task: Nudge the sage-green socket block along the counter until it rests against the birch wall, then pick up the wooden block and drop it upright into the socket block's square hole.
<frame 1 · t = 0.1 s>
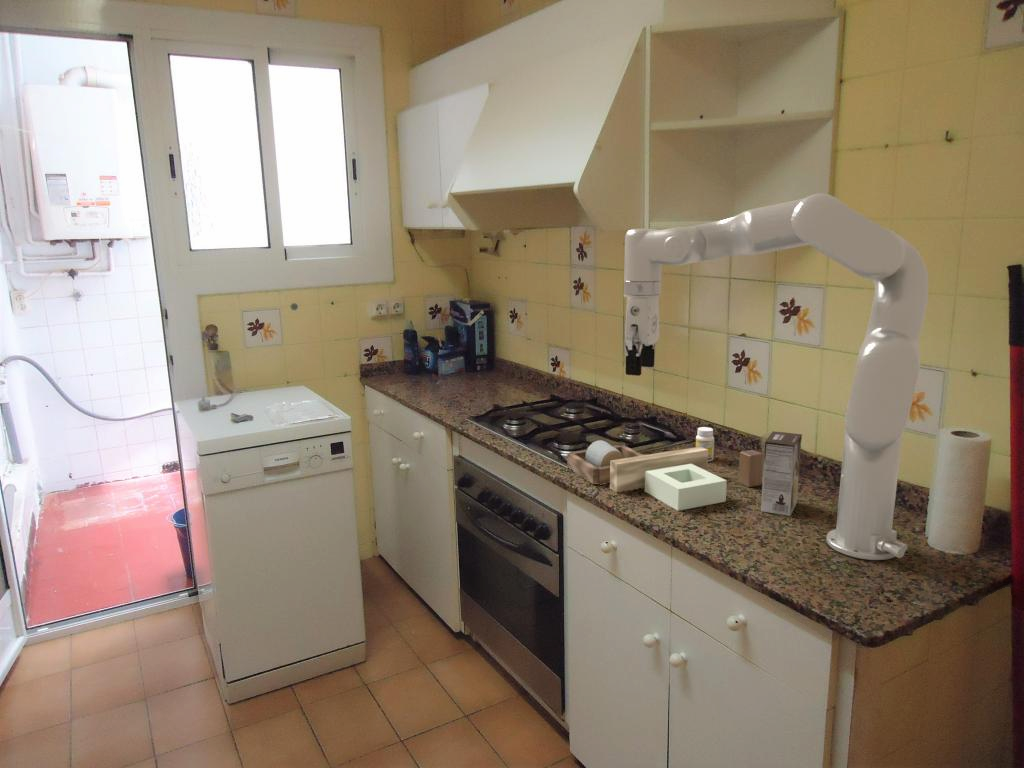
hand: (640, 370, 151), 31 cm above the counter, tool pointing down, fingers open, 9 cm apart
socket block: (684, 496, 164), on the counter
birch wall: (659, 482, 173), on the counter
brown wooden tray: (609, 471, 181), on the counter
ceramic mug: (609, 472, 182), on the counter
coffee box: (779, 507, 157), on the counter
supplement bottle: (704, 459, 190), on the counter
wooden block: (749, 484, 171), on the counter
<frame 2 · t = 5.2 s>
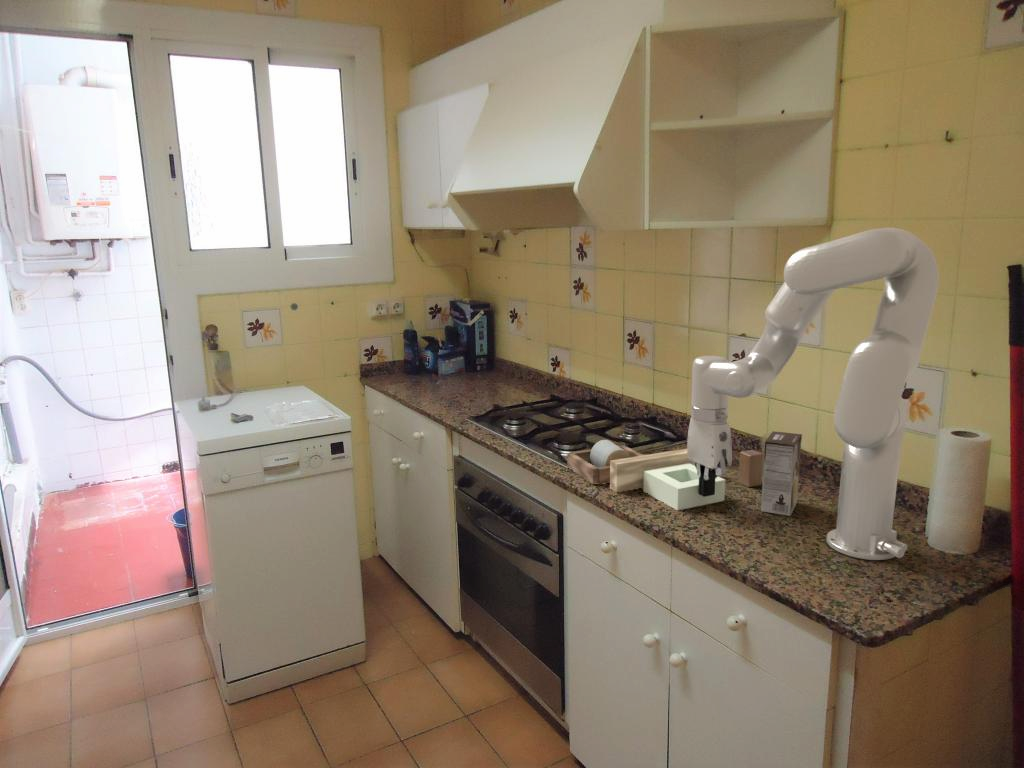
hand: (706, 494, 157), 3 cm above the counter, tool pointing down, fingers closed
socket block: (683, 495, 165), on the counter, touching gripper
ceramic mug: (614, 472, 182), on the counter
everything else where it was.
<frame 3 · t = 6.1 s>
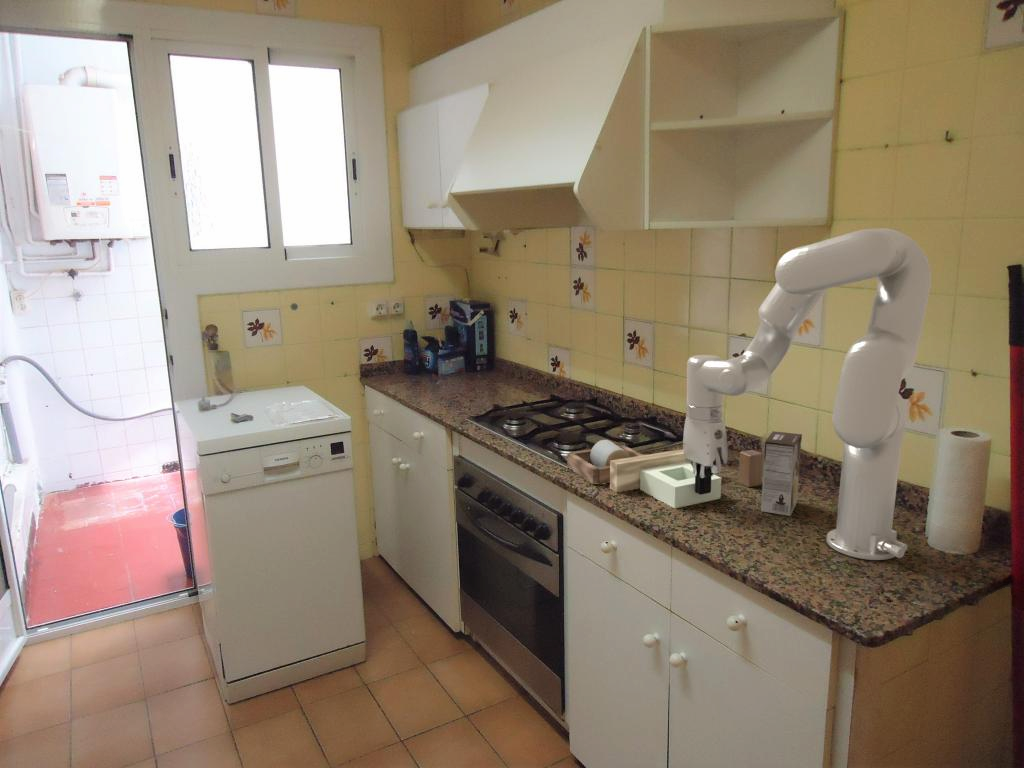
hand: (702, 492, 158), 3 cm above the counter, tool pointing down, fingers closed
socket block: (679, 494, 166), on the counter, touching birch wall, gripper
everything else where it was.
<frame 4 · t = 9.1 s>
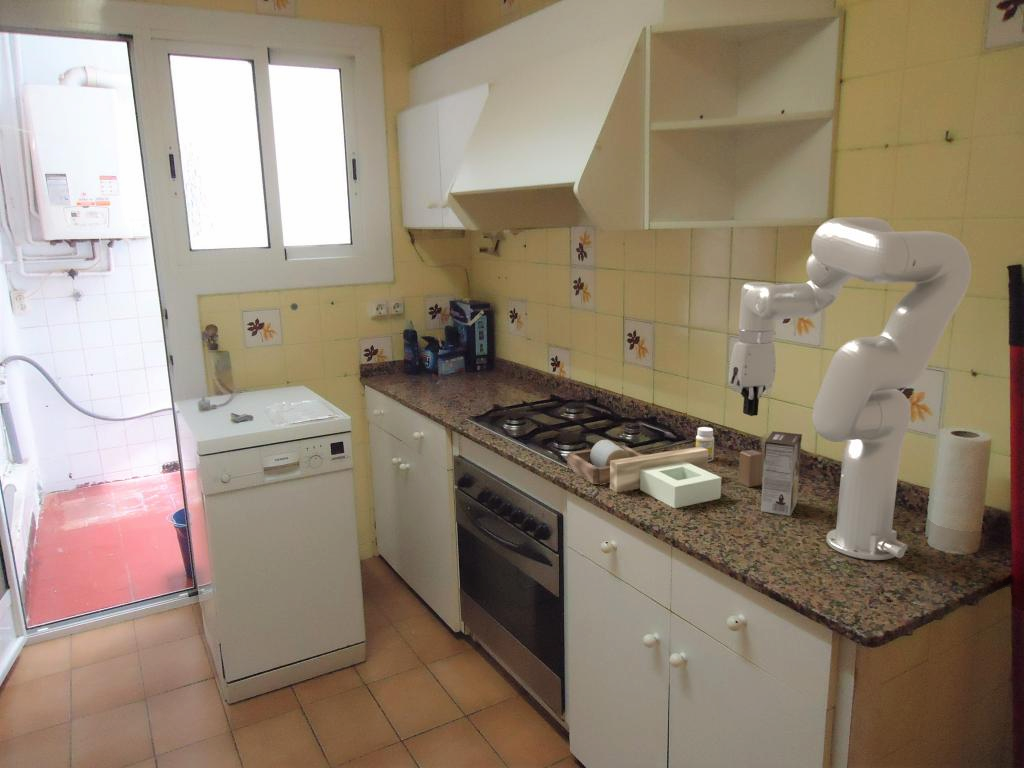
hand: (750, 414, 167), 18 cm above the counter, tool pointing down, fingers closed
socket block: (679, 493, 166), on the counter
everything else where it was.
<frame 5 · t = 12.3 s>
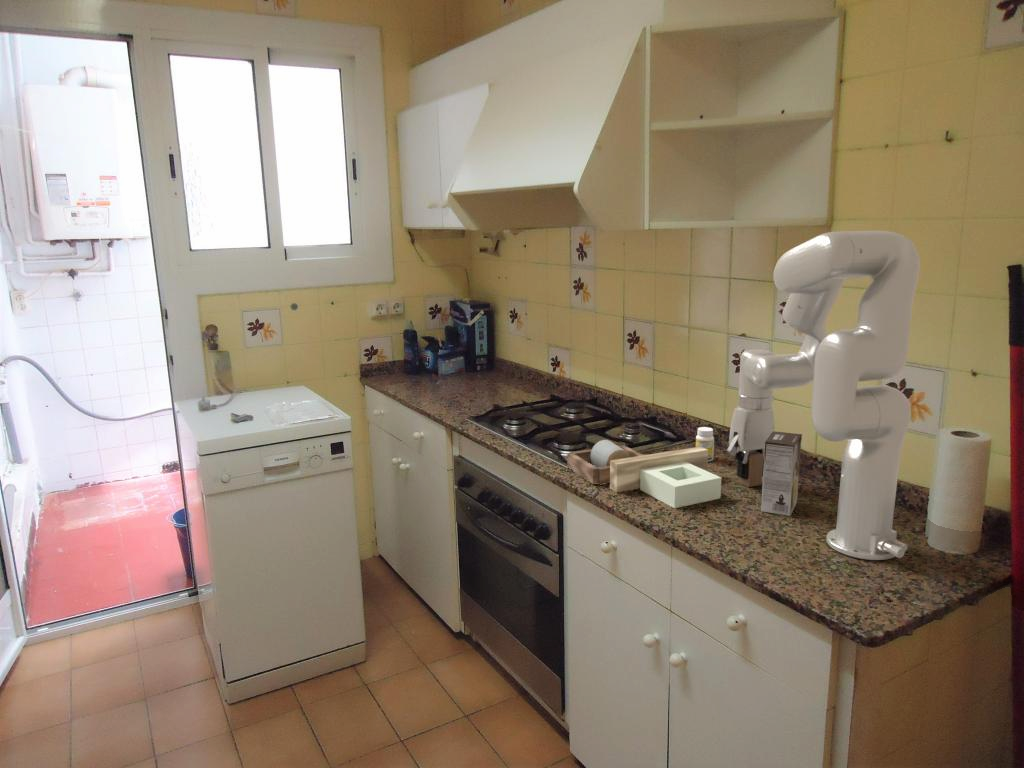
hand: (750, 475, 171), 2 cm above the counter, tool pointing down, fingers closed on wooden block, 4 cm apart
wooden block: (749, 484, 171), on the counter, touching gripper
everything else where it was.
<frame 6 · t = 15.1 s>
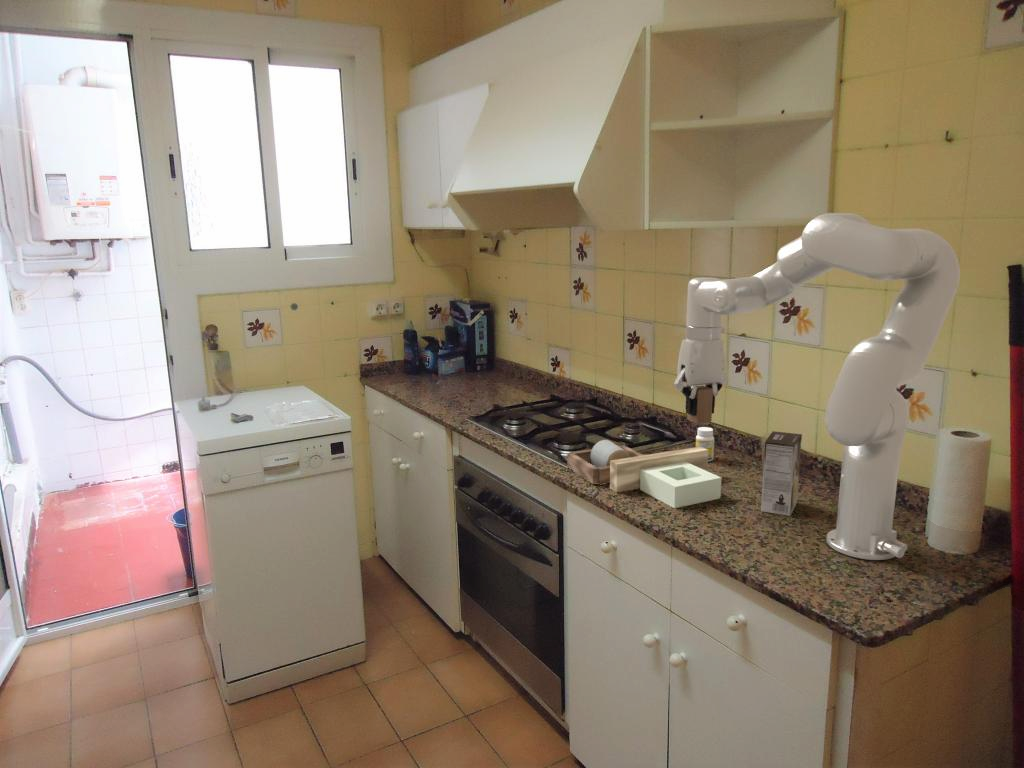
hand: (699, 412, 162), 19 cm above the counter, tool pointing down, fingers closed on wooden block, 4 cm apart
wooden block: (699, 422, 163), point 17 cm above the counter, touching gripper
everything else where it was.
when the fingers open (6 cm above the counter, at t = 18.3 s): wooden block drops 4 cm, on the counter.
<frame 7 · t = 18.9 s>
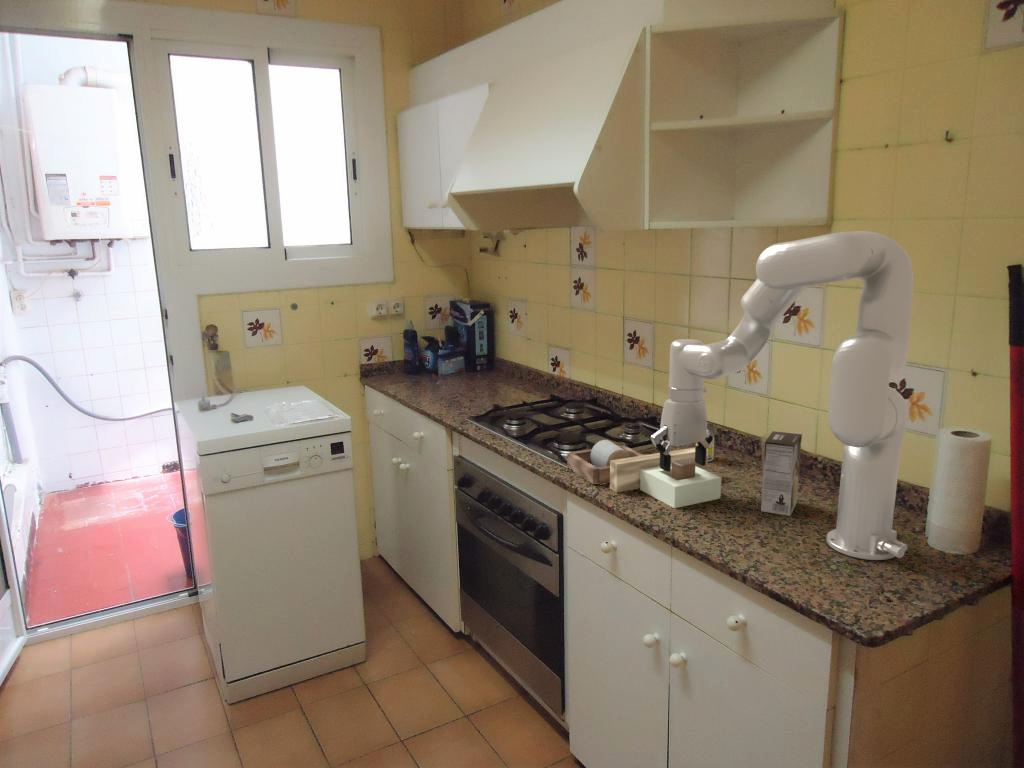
hand: (682, 466, 164), 7 cm above the counter, tool pointing down, fingers open, 9 cm apart
wooden block: (682, 495, 165), on the counter
everything else where it was.
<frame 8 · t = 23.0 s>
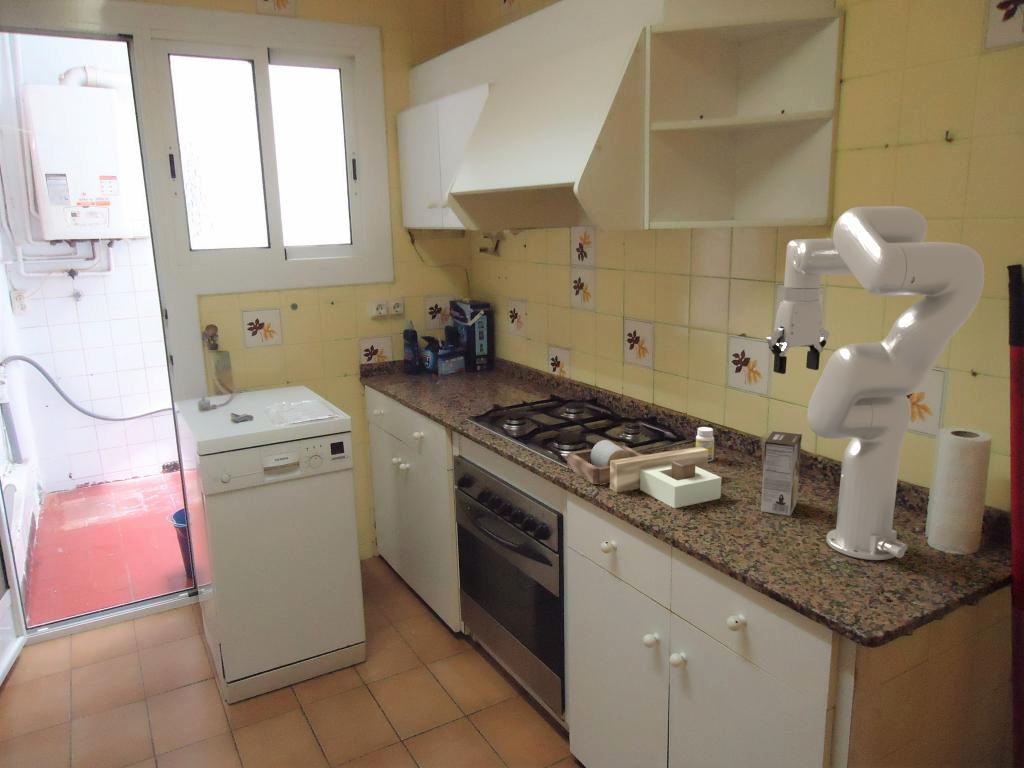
hand: (796, 370, 162), 28 cm above the counter, tool pointing down, fingers open, 9 cm apart
nothing on the counter moved.
at the end: socket block 0.2 cm from the target spot, on the counter; wooden block 0.9 cm off-centre on the socket block, point 0.0 cm above the socket block's base; wooden block tilted 0° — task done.
